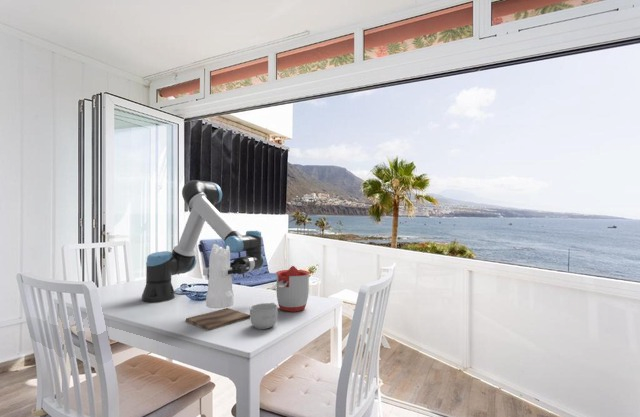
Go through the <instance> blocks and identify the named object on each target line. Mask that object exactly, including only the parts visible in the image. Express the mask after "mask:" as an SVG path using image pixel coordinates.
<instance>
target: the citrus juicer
mask: <svg viewBox="0 0 640 417" xmlns="http://www.w3.org/2000/svg"><path fill="white" fill-rule="evenodd" d="M275 273H276V289H275V290H276V300H277V304H278V305H277V306H278V307H279V309H280V310H281V311H285V312H292V313H296V312H301V311H303V310H305V309H306V306H307V302H308V300H309V291H310V287H309V286H310V271H307V270H303V269H297V267H295V265H291V266H290V267H289V268H288V269H285V270H284V269H282V270H278V271H276V272H275Z"/></svg>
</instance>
